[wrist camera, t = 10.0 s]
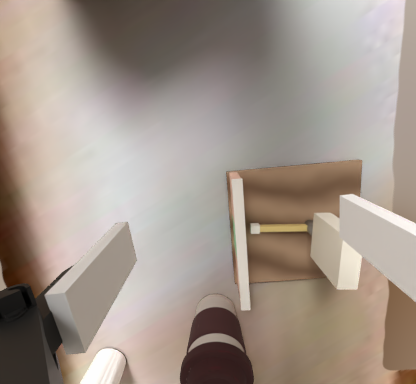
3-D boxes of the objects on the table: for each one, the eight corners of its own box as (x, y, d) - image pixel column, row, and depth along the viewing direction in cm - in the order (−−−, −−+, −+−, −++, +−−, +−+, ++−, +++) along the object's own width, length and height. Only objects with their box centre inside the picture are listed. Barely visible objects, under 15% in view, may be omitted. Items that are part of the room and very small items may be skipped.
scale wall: (228, 172, 37) (231, 180, 31) (237, 171, 37) (242, 179, 31) (236, 283, 42) (241, 310, 36) (244, 283, 42) (250, 309, 36)
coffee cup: (249, 294, 44) (267, 374, 29) (231, 337, 46) (240, 430, 32) (198, 280, 43) (190, 353, 29) (183, 323, 46) (169, 411, 31)
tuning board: (226, 171, 39) (226, 172, 37) (357, 159, 38) (362, 160, 37) (234, 279, 43) (235, 283, 42) (351, 271, 42) (355, 275, 41)
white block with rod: (318, 204, 38) (365, 234, 27) (315, 244, 40) (357, 289, 28) (249, 205, 39) (266, 236, 27) (249, 245, 40) (264, 290, 29)
